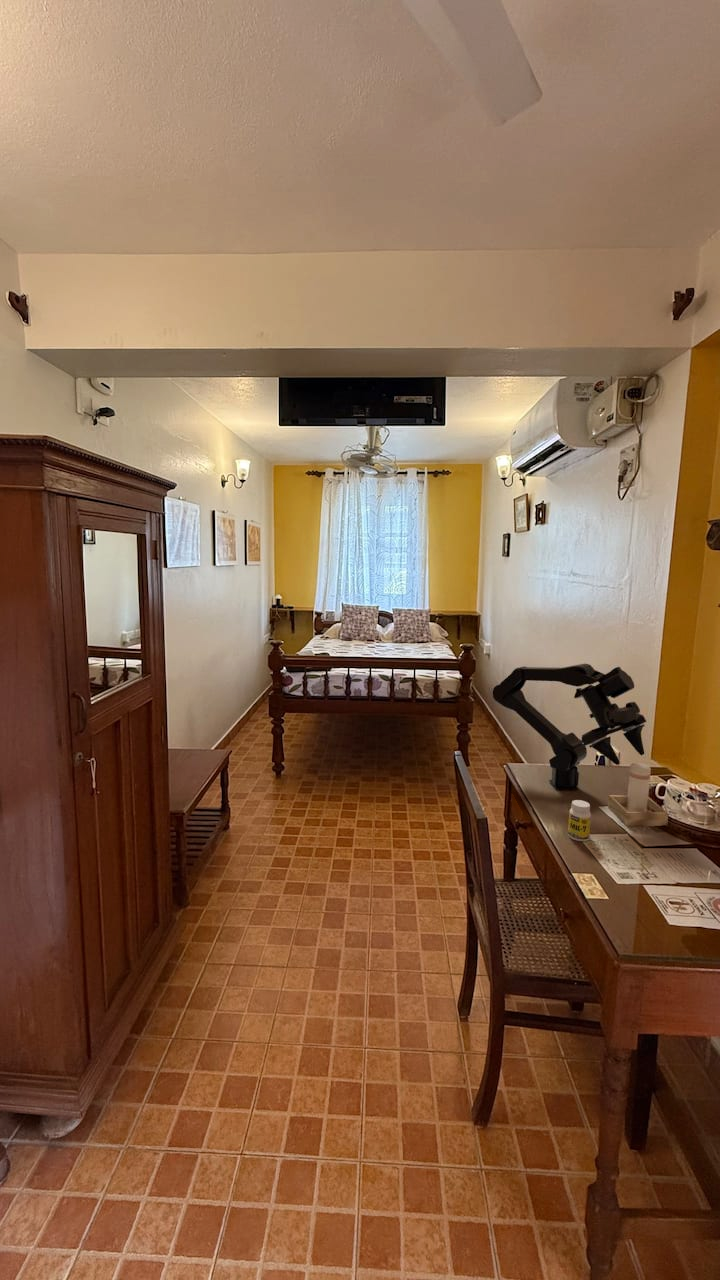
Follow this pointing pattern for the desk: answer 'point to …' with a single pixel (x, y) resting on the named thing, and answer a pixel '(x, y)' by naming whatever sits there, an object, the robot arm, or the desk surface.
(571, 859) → the desk surface
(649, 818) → the tray
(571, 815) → the supplement bottle
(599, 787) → the desk surface
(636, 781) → the vase
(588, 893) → the desk surface
